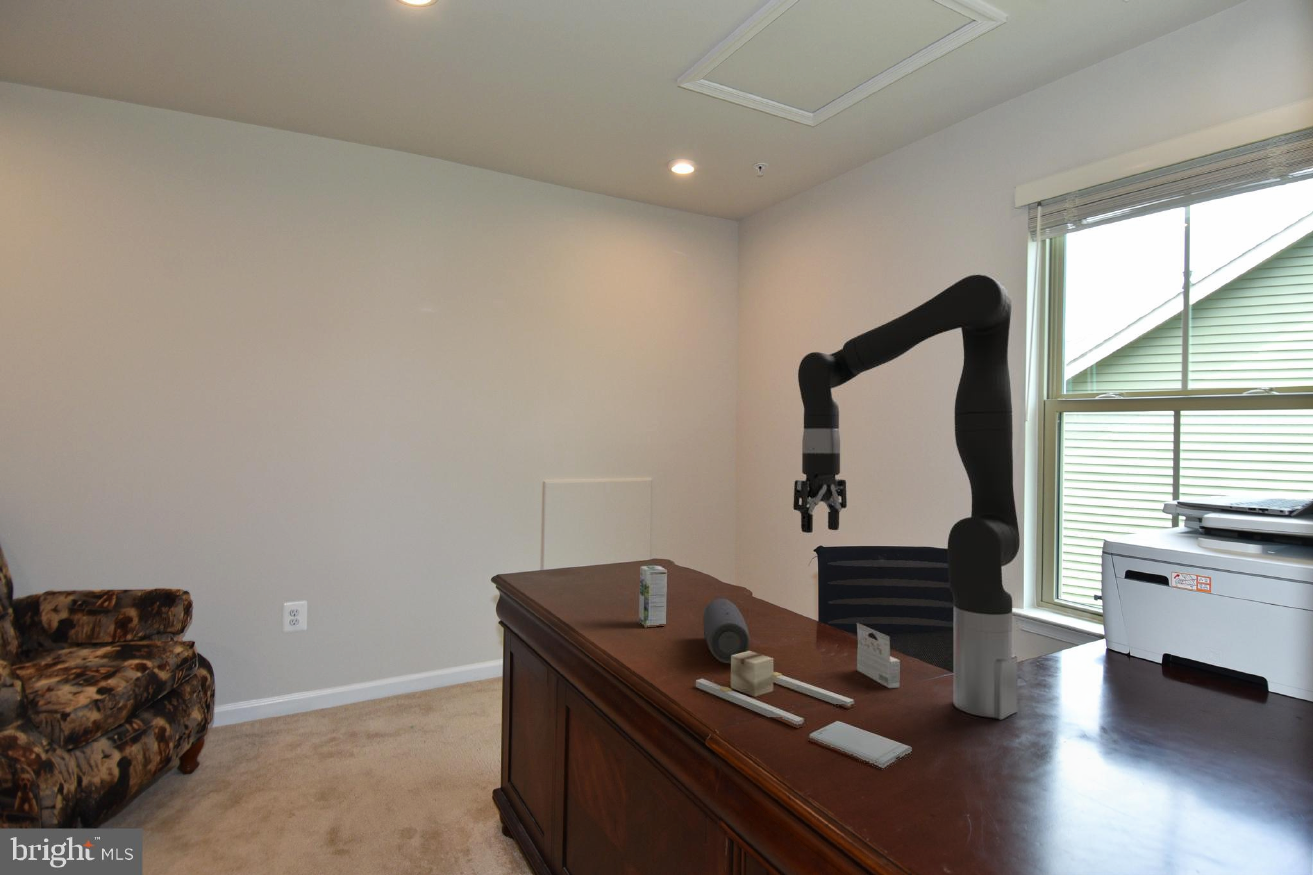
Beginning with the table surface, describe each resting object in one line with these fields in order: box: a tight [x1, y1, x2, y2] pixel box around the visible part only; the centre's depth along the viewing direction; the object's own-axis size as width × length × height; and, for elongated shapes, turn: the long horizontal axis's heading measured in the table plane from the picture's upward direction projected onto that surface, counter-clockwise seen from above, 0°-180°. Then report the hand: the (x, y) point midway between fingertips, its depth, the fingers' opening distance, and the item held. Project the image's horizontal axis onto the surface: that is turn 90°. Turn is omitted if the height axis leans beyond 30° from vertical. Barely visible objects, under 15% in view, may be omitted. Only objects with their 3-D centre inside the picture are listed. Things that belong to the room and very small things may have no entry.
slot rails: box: [695, 671, 855, 725], centre depth 122 cm, size 24×15×1 cm, turn 39°
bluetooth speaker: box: [702, 598, 751, 664], centre depth 148 cm, size 23×9×10 cm, turn 179°
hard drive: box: [808, 720, 913, 768], centre depth 102 cm, size 2×8×12 cm
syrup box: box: [638, 565, 668, 626], centre depth 171 cm, size 6×6×14 cm
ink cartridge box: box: [856, 622, 901, 689], centre depth 132 cm, size 2×11×10 cm, turn 16°
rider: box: [730, 650, 774, 698], centre depth 126 cm, size 6×5×6 cm
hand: (820, 531), depth 138 cm, fingers open, 8 cm apart
